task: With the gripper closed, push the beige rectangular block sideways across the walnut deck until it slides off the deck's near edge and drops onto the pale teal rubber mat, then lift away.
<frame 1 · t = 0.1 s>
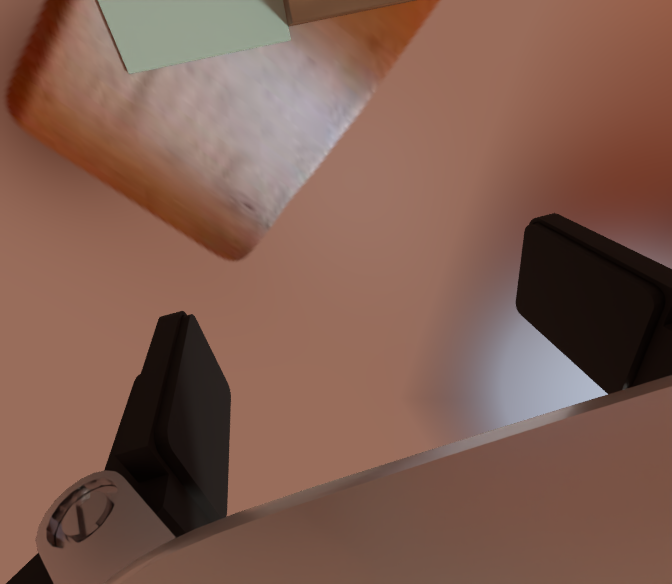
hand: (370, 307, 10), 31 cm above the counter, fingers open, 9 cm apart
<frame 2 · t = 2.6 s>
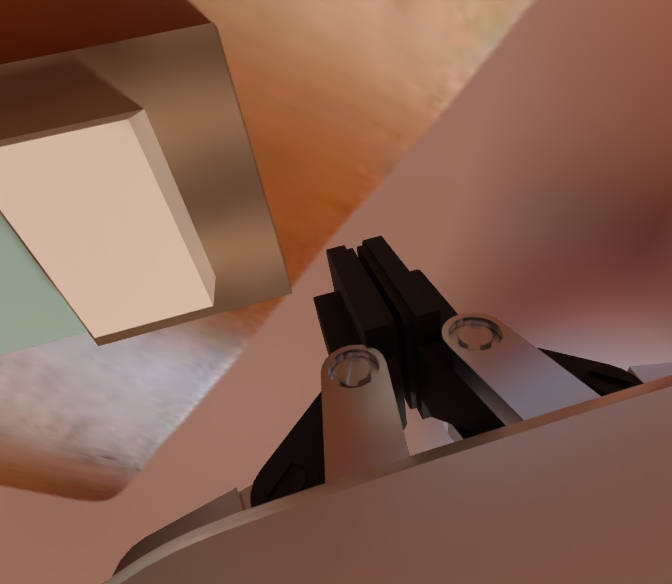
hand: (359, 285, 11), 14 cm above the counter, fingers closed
deck: (158, 189, 22), on the counter
beige rectangular block: (117, 230, 17), point 5 cm above the counter, touching deck
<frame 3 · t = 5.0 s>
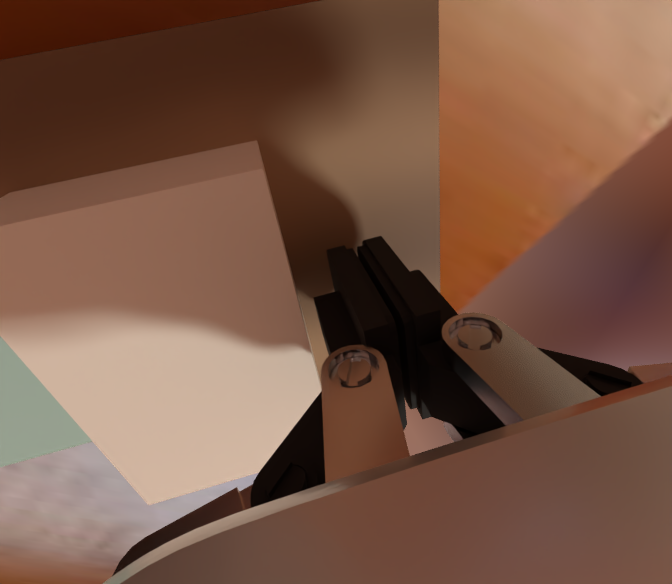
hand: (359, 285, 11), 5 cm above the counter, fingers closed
deck: (258, 242, 15), on the counter
beige rectangular block: (197, 339, 10), point 6 cm above the counter, touching gripper
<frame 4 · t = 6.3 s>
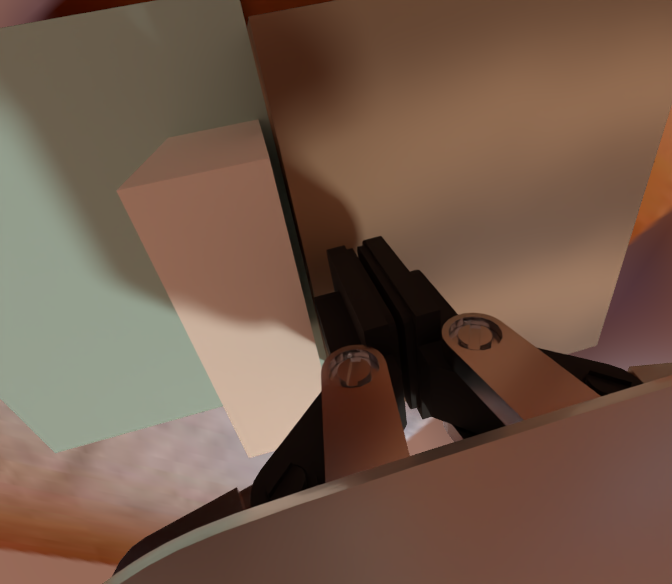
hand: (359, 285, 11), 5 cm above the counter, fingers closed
deck: (433, 201, 16), on the counter
mat: (124, 276, 15), on the counter
beige rectangular block: (253, 286, 12), point 3 cm above the counter, tilted 90°, touching gripper, mat
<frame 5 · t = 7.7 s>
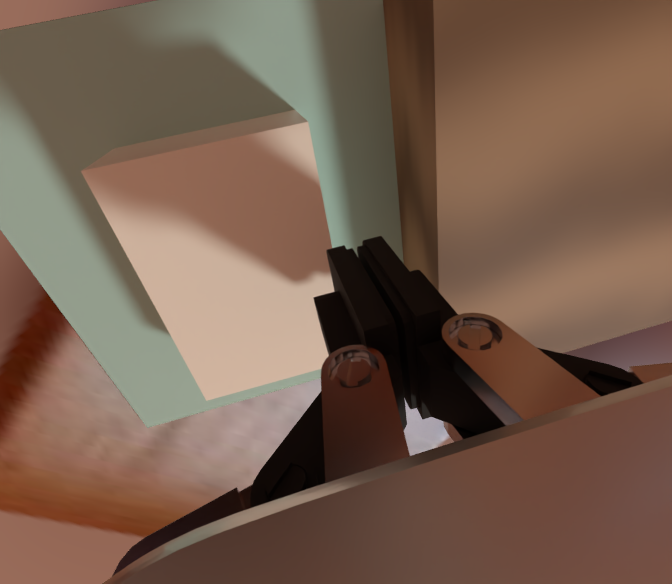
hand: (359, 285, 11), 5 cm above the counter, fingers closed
deck: (526, 176, 16), on the counter
mat: (233, 250, 15), on the counter
beige rectangular block: (247, 265, 13), point 2 cm above the counter, tilted 180°, touching mat
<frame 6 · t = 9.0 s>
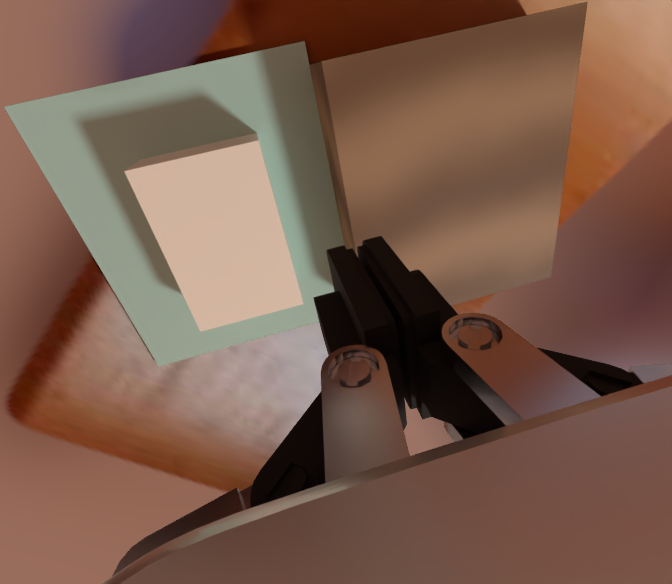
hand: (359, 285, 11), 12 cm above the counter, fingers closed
deck: (428, 175, 23), on the counter
mat: (219, 228, 22), on the counter
beige rectangular block: (227, 236, 20), point 2 cm above the counter, tilted 180°, touching mat
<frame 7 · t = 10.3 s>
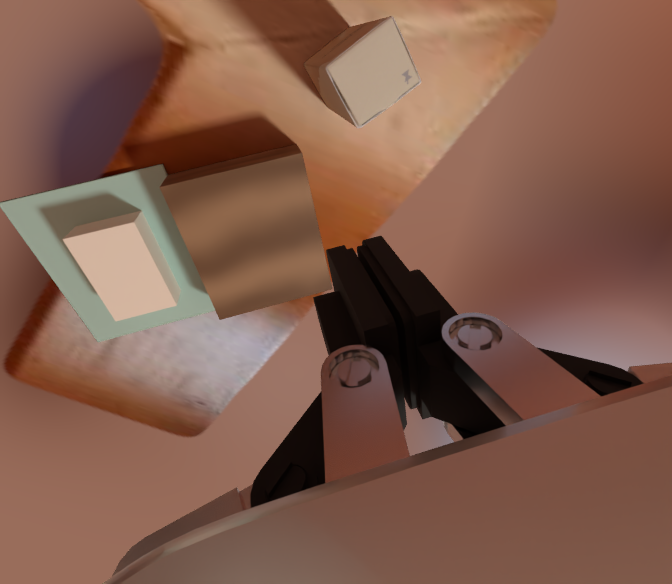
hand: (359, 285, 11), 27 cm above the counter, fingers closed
deck: (255, 228, 38), on the counter
box: (337, 70, 32), on the counter
mat: (127, 261, 37), on the counter
beige rectangular block: (128, 267, 35), point 2 cm above the counter, tilted 180°, touching mat
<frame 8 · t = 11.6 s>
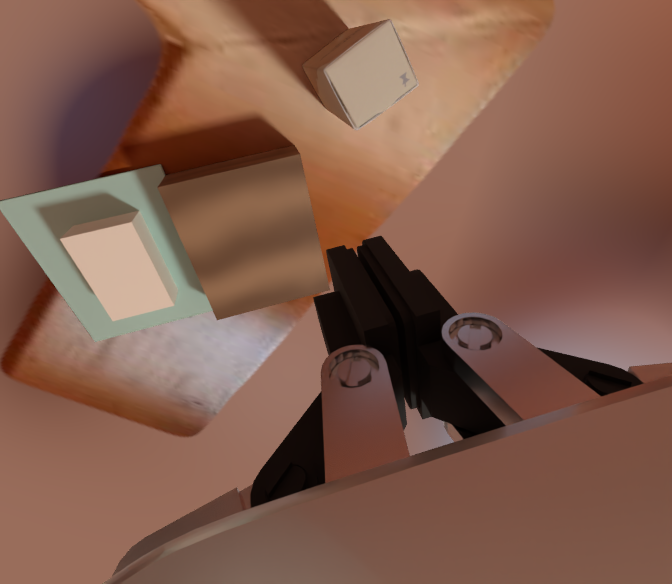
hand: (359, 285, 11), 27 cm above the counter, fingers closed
deck: (253, 229, 38), on the counter
box: (336, 72, 32), on the counter
mat: (125, 260, 37), on the counter
beige rectangular block: (125, 267, 35), point 2 cm above the counter, tilted 180°, touching mat
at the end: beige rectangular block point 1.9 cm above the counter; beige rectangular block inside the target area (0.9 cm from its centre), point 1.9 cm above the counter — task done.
